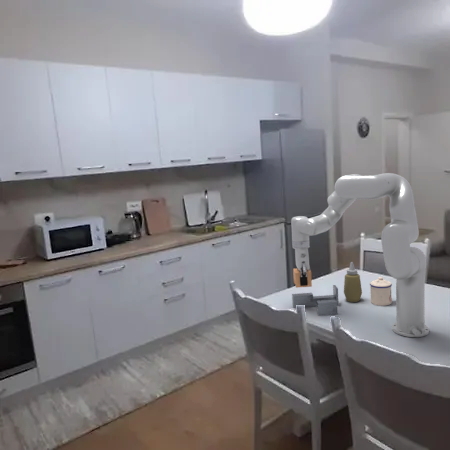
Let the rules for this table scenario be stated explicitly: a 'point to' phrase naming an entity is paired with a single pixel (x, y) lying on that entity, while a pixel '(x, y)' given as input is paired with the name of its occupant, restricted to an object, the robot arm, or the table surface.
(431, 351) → the table surface
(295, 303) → the rail
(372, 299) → the teacup with lid
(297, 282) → the block
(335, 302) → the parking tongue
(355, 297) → the squeeze bottle
